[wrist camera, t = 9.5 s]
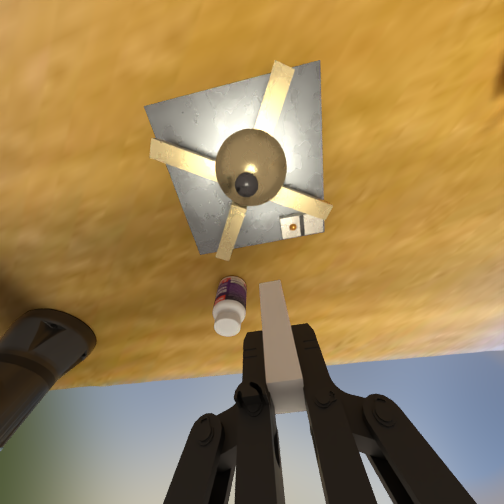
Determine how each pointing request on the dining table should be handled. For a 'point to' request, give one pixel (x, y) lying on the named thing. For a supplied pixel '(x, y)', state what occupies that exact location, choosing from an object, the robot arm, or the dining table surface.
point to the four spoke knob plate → (248, 165)
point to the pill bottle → (230, 306)
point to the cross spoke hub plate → (225, 124)
